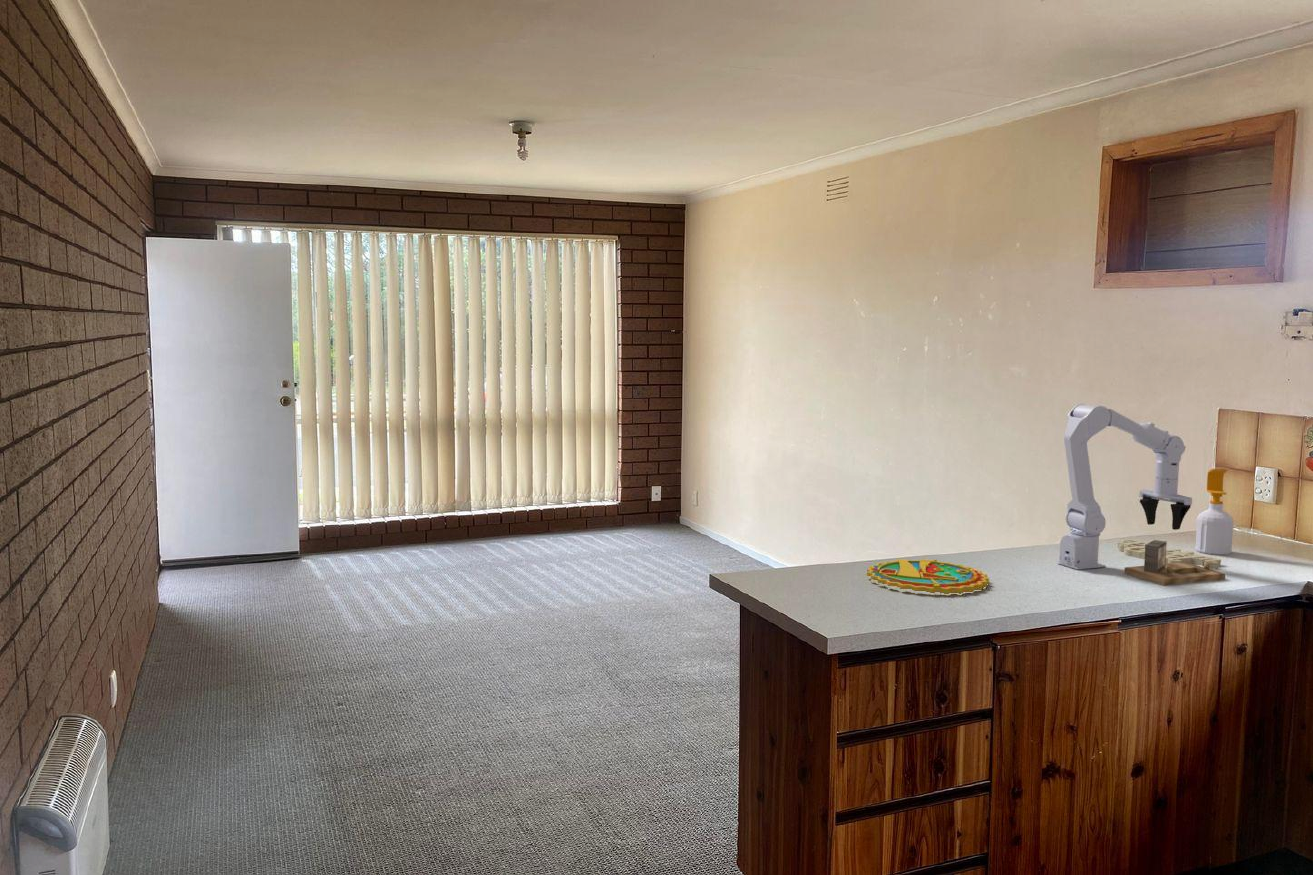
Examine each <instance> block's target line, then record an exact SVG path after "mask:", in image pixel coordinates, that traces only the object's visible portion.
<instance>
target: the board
mask: <svg viewBox="0 0 1313 875" xmlns="http://www.w3.org/2000/svg"><path fill="white" fill-rule="evenodd" d="M1123 570H1124V574H1125V575H1129V576H1132V577H1135V578H1138V579H1141V580H1144V581H1148V582H1151V583H1154V584H1158V585H1159V586H1160V585H1161V586H1170V585H1171V586H1172V585H1184V584H1193V583H1194V584H1195V583H1203V582H1211V581H1212V582H1213V581H1214V582H1215V581H1223V580H1226V572H1221V571H1218V570H1216V569H1211V568H1210V564H1209V563H1204V565H1203V566H1201V565H1196V564H1192V563H1190V564H1189V563H1186V562H1179V563H1168V564H1165V568H1164V569H1162V570H1160V571H1159V572H1157V573H1153V572H1147V571H1144V565H1137V566H1135V565H1134V566H1127V567H1124V569H1123Z"/></svg>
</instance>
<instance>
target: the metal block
mask: <svg viewBox="0 0 1313 875" xmlns="http://www.w3.org/2000/svg"><path fill="white" fill-rule="evenodd" d="M1167 542H1168V541H1165V540H1157V539H1154V540H1151V541H1150V542H1147V543H1148V544H1146V545H1145V559H1144V563H1143V566H1144V571H1147V572H1153V573H1157V572H1159V571H1160V570H1162V569H1164V568H1165V563H1166V549H1167V546H1168V545H1167V544H1168V543H1167Z"/></svg>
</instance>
